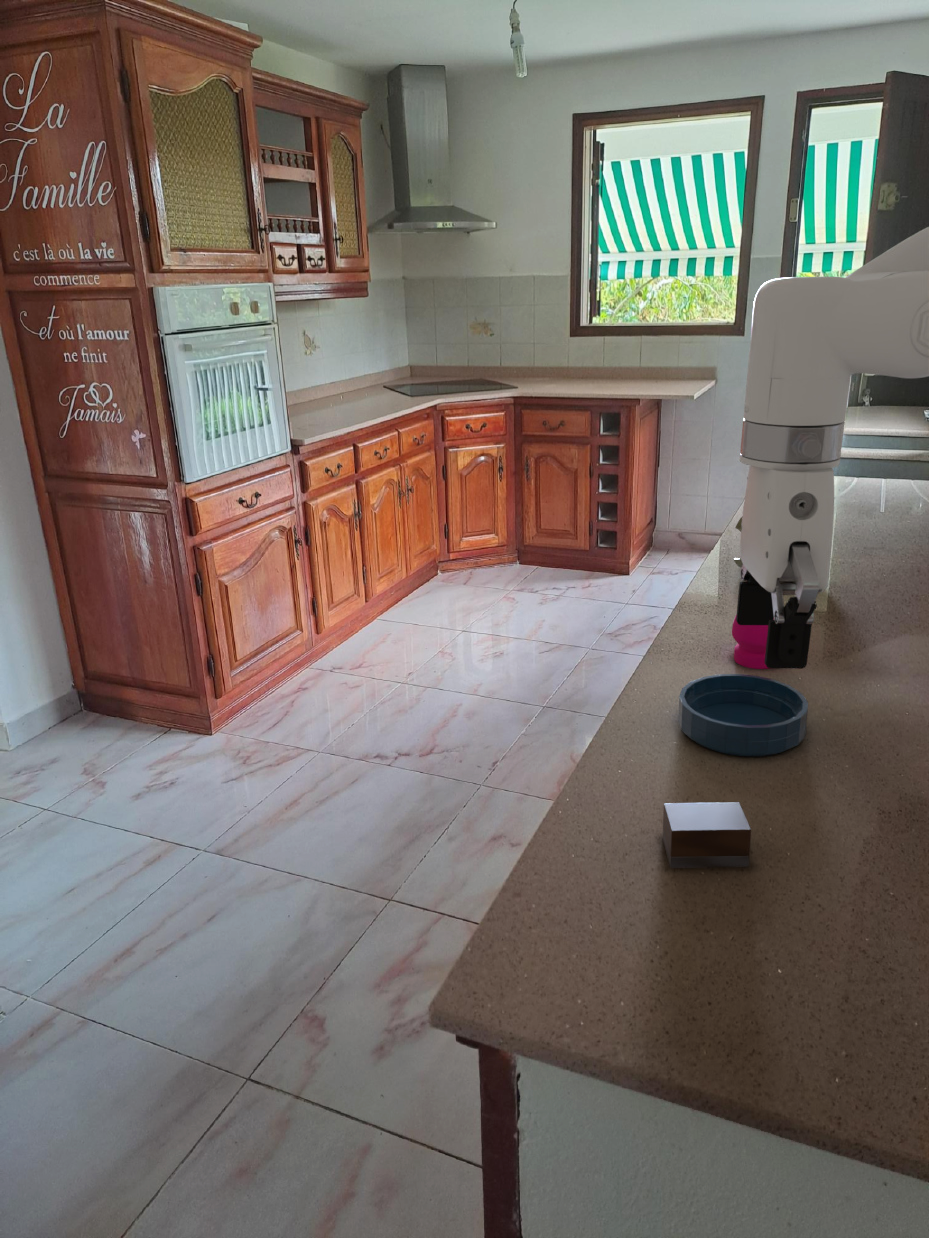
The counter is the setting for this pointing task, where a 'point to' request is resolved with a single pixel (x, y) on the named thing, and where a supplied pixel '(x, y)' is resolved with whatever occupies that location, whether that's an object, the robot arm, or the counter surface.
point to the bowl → (743, 714)
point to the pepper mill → (750, 645)
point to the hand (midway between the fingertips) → (768, 644)
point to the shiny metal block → (706, 835)
